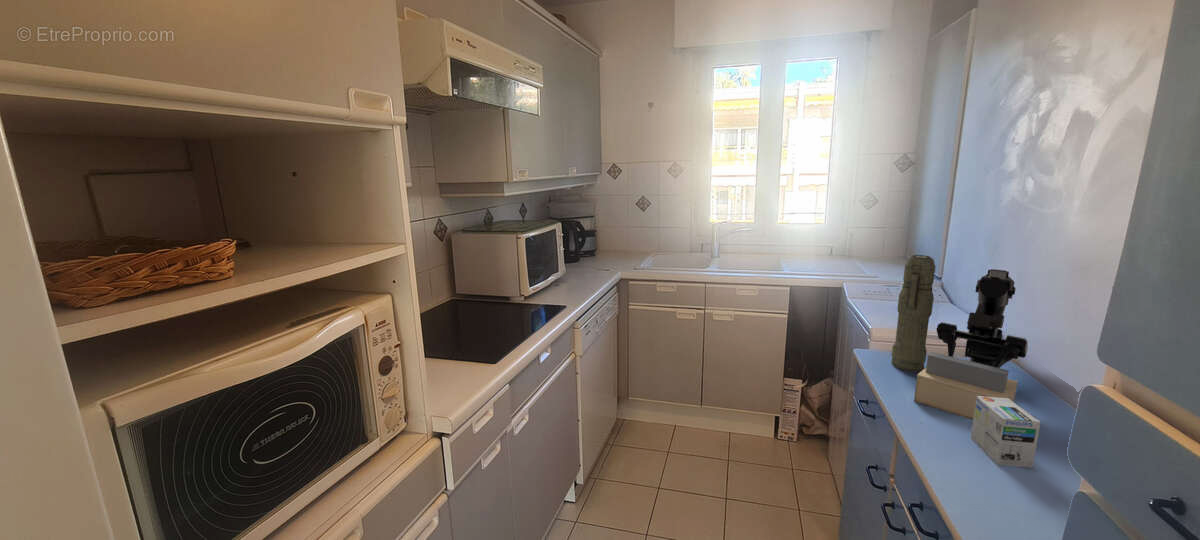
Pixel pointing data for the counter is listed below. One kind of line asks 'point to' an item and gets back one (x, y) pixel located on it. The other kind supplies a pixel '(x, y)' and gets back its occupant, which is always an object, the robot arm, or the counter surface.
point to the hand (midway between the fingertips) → (970, 366)
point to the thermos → (914, 314)
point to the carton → (952, 397)
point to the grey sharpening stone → (966, 375)
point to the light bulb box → (1005, 431)
